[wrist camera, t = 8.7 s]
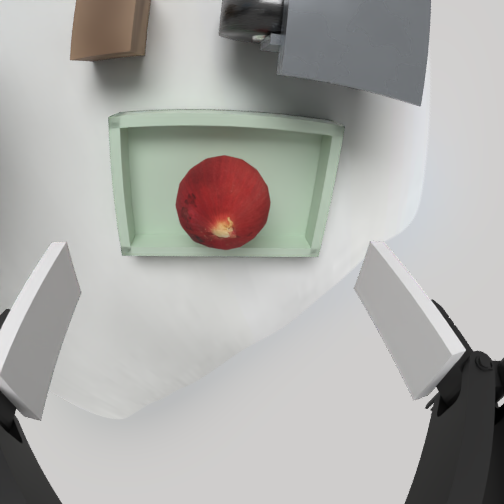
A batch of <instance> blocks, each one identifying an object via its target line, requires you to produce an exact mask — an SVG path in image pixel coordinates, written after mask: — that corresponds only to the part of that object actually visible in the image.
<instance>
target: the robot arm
mask: <svg viewBox="0 0 504 504" xmlns="http://www.w3.org/2000/svg"><path fill="white" fill-rule="evenodd" d="M354 289H355V291H356V293H357V295H358V296H359V298H360V300H361V302H362V303H363V305H364V307H365V308H366V310H367V311H368V314H369V316H370V317H371V319H372V321H373V323H374V325H375V326H376V328H377V330H378V332H379V334H380V336H381V337H382V339H383V341H384V343H385V345H386V347H387V349H388V351H389V352H390V354H391V356H392V358H393V360H394V362H395V364H396V366H397V368H398V370H399V372H400V374H401V376H402V378H403V380H404V382H405V384H406V386H407V388H408V390H409V392H410V394H411V396H412V398H413V400H417V399H420V398H422V397H425V396H428V395H429V394H430V393H431V392H432V391H433V389H434V388H435V387H437V389H438V391H439V392H438V393H437V394H436V395H435V396H434V397H433V398H432V400H430V401H429V403H428V404H427V405H426V407H425V408H426V409H428V408H429V407H430V406H431V405H432V404H433V403H434V405H433V407H432V409H431V411H432V414H431V419H430V423H429V428H428V432H427V436H426V440H425V444H424V447H423V451H422V454H421V458H420V461H419V465H418V468H417V471H416V474H415V477H414V480H413V483H412V485H411V488H410V491H409V494H408V497H407V499H406V502H405V504H504V404H503V405H502V406H501V407H498V403H497V402H498V401H499V400H500V399H502V398H503V396H504V358H503V359H502V360H501V361H492V360H491V358H490V357H489V356H488V355H487V354H485V353H483V352H481V351H474V352H473V350H472V349H471V348H470V346H469V344H468V343H467V341H466V340H465V339H464V337H463V336H462V334H461V333H460V331H459V330H458V329H457V327H456V326H455V325H454V323H453V321H452V320H451V319H450V318H449V316H448V315H447V313H446V312H445V310H444V309H443V308H442V307H441V306H440V305H439V304H438V303H436V302H435V301H434V300H430V298H429V297H428V296H427V294H426V293H425V292H424V290H423V289H422V288H421V286H420V285H419V284H418V283H417V281H416V280H415V279H414V278H413V276H412V275H411V274H410V273H409V271H408V270H407V269H406V268H405V266H404V265H403V264H402V263H401V261H400V260H399V259H398V258H397V257H396V255H395V254H394V253H393V252H392V251H391V249H390V248H389V247H388V246H387V245H386V244H385V242H384V241H370V243H369V246H368V250H367V253H366V256H365V259H364V261H363V264H362V268H361V270H360V273H359V276H358V279H357V282H356V284H355V287H354ZM80 295H81V290H80V287H79V283H78V280H77V277H76V274H75V271H74V267H73V264H72V260H71V257H70V253H69V249H68V245H67V242H52V243H51V244H50V246H49V247H48V249H47V250H46V252H45V253H44V255H43V256H42V258H41V259H40V261H39V262H38V264H37V265H36V267H35V269H34V270H33V272H32V273H31V275H30V277H29V278H28V280H27V282H26V283H25V285H24V287H23V288H22V290H21V292H20V294H19V295H18V297H17V299H16V301H15V303H14V304H13V306H12V308H11V309H6V310H5V311H4V312H3V313H2V314H1V315H0V504H62V503H61V501H60V500H59V498H58V496H57V495H56V493H55V492H54V490H53V489H52V487H51V485H50V484H49V482H48V480H47V478H46V477H45V475H44V473H43V471H42V469H41V468H40V466H39V464H38V462H37V460H36V458H35V456H34V454H33V452H32V450H31V448H30V446H29V444H28V441H27V440H26V437H25V435H24V433H23V431H22V428H21V426H20V423H19V421H18V419H17V418H16V416H15V411H16V409H17V410H18V411H19V412H21V414H22V415H24V416H25V417H29V418H33V419H36V420H40V421H41V418H42V414H43V409H44V405H45V401H46V397H47V393H48V390H49V386H50V382H51V379H52V375H53V372H54V368H55V365H56V362H57V358H58V355H59V352H60V349H61V346H62V343H63V340H64V337H65V334H66V332H67V329H68V326H69V323H70V321H71V318H72V315H73V313H74V310H75V307H76V305H77V302H78V300H79V297H80Z"/></svg>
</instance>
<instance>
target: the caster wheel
mask: <svg viewBox="0 0 504 504" xmlns="http://www.w3.org/2000/svg"><path fill="white" fill-rule="evenodd" d="M430 14H431V0H222V7H221V16H220V26H219V35H220V36H221V37H224V38H228V39H232V40H238V41H245V42H253V43H261V47H260V50H262V51H271V52H279V56H278V66H277V75H281V76H289V77H296V78H303V79H309V80H315V81H321V82H326V83H332V84H337V85H341V86H346V87H350V88H354V89H359V90H363V91H367V92H371V93H375V94H379V95H383V96H386V97H390V98H393V99H397V100H400V101H403V102H406V103H410V104H413V105H417V106H421V101H422V94H423V88H424V81H425V73H426V65H427V56H428V45H429V33H430Z"/></svg>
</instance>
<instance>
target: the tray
mask: <svg viewBox="0 0 504 504" xmlns="http://www.w3.org/2000/svg"><path fill="white" fill-rule="evenodd" d="M108 121H109V146H110V161H111V174H112V185H113V194H114V203H115V211H116V219H117V226H118V233H119V239H120V246H121V252H122V256H222V257H318V256H319V252H320V248H321V244H322V239H323V235H324V231H325V226H326V222H327V217H328V212H329V208H330V203H331V198H332V193H333V189H334V184H335V178H336V173H337V168H338V163H339V157H340V152H341V146H342V141H343V135H344V129H345V126H343V125H341V124H338V123H336V122H334V121H331V120H324V119H318V118H310V117H303V116H295V115H286V114H276V113H265V112H252V111H235V110H205V109H177V110H147V111H131V112H119V113H117V114H114V115H112V116H110V117H108ZM222 155H226V156H231V157H235V158H239V159H243V160H244V161H245V162H247V163H248V164H250V165H251V166H253V167H254V168H256V169H257V170H258V172H259V173H260V175H261V176H262V178H263V180H264V181H265V183H266V184H267V186H268V190H269V196H270V201H271V204H270V210H269V214H268V219H267V223H266V224H265V226H264V227H263V228H262V229H261V231H260V232H259V233H258V234H257V235H256V237H255V238H254V239H252V240H251V241H249V242H248V243H246V244H245V245H243V246H241V247H239V248H234V249H230V250H222V249H215V248H209V247H207V246H204V245H202V244H199V243H196V242H194V241H193V240H192V239H191V238H190V236H189V235H188V234H187V233H186V231H185V230H184V229H183V228H182V226H181V224H180V222H179V218H178V214H177V210H176V206H175V204H176V198H177V193H178V188H179V183H180V182H181V181H182V179H183V178H184V177H185V175H186V174H187V173H188V171H189V170H190V169H191V168H192V167H194V166H195V165H197V164H198V163H200V162H201V161H203V160H204V159H207V158H211V157H216V156H222Z"/></svg>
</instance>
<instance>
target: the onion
mask: <svg viewBox="0 0 504 504" xmlns="http://www.w3.org/2000/svg"><path fill="white" fill-rule="evenodd" d="M270 204H271V201H270V196H269V190H268V186H267V184H266V183H265V181H264V180H263V178H262V176H261V175H260V173H259V172H258V170H257V169H256V168H254V167H253V166H251V165H250V164H248V163H247V162H245V161H244V160H243V159H239V158H235V157H231V156H226V155H222V156H216V157H211V158H207V159H204V160H203V161H201V162H200V163H198V164H197V165H195V166H194V167H192V168H191V169H190V170H189V171H188V173H187V174H186V175H185V177H184V178H183V179H182V181H181V182H180V183H179V188H178V193H177V198H176V204H175V206H176V210H177V214H178V218H179V222H180V224H181V226H182V228H183V229H184V230H185V231H186V233H187V234H188V235H189V236H190V238H191V239H192V240H193V241H194V242H196V243H199V244H202V245H204V246H207V247H209V248H215V249H222V250H230V249H234V248H239V247H241V246H243V245H245V244H246V243H248V242H249V241H251V240H252V239H254V238H255V237H256V235H257V234H258V233H259V232H260V231H261V229H262V228H263V227H264V226H265V224H266V223H267V219H268V214H269V210H270Z"/></svg>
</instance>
